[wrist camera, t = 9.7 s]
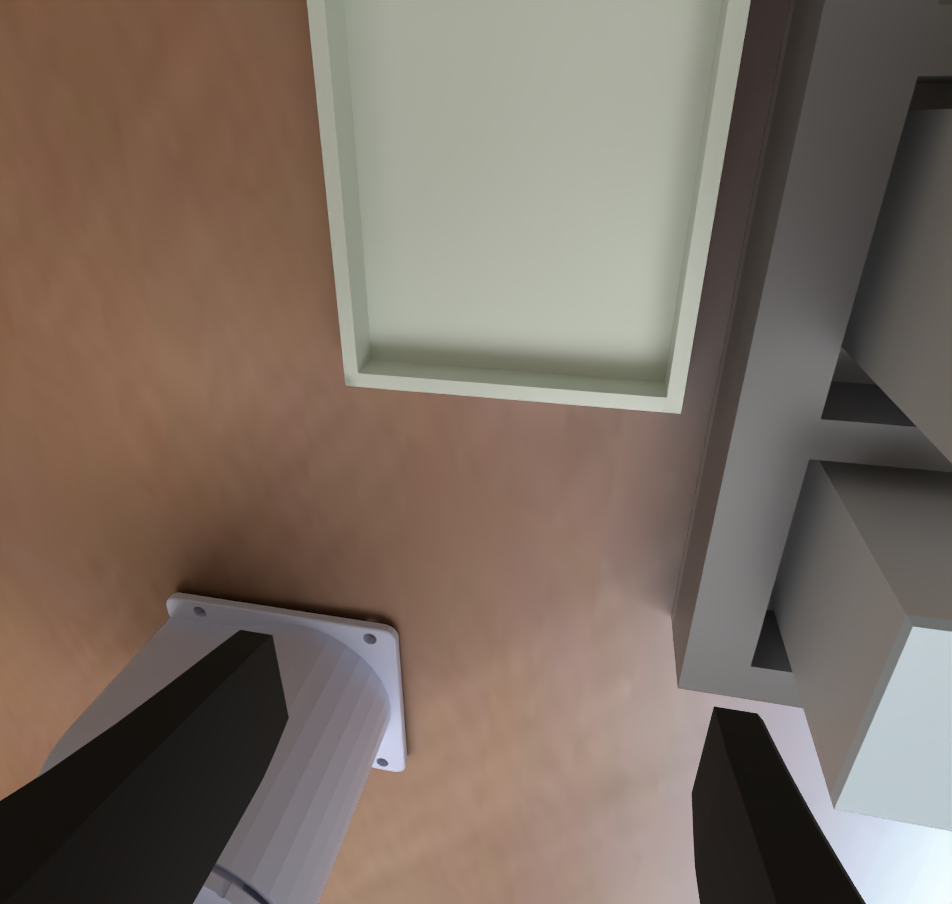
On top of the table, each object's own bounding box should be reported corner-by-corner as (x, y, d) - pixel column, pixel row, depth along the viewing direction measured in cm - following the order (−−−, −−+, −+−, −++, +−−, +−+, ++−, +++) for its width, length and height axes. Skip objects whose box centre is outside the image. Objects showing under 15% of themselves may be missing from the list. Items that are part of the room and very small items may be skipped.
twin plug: (767, 590, 19) (833, 809, 13) (809, 442, 17) (912, 626, 11) (913, 609, 18) (1055, 850, 12) (977, 457, 16) (1193, 664, 10)
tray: (366, 366, 19) (345, 385, 18) (321, -172, 13) (285, -206, 12) (676, 390, 17) (680, 414, 16) (773, -210, 12) (793, -255, 10)
